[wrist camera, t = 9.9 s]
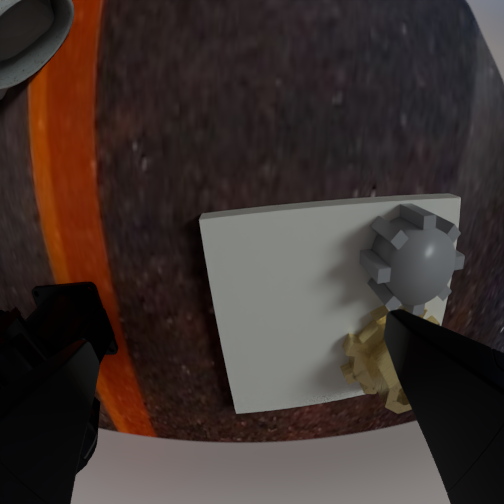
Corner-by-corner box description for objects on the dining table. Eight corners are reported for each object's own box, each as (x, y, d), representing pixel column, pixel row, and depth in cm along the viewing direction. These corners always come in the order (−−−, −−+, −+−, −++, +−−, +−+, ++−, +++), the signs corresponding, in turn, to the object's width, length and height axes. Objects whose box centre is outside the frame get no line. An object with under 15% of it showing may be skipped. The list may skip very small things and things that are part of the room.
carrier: (236, 401, 25) (236, 442, 21) (201, 213, 19) (191, 237, 15) (419, 367, 25) (440, 399, 21) (449, 193, 19) (489, 209, 15)
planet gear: (337, 392, 23) (353, 438, 19) (344, 311, 20) (370, 358, 16) (421, 371, 24) (445, 409, 19) (441, 292, 20) (478, 328, 16)
